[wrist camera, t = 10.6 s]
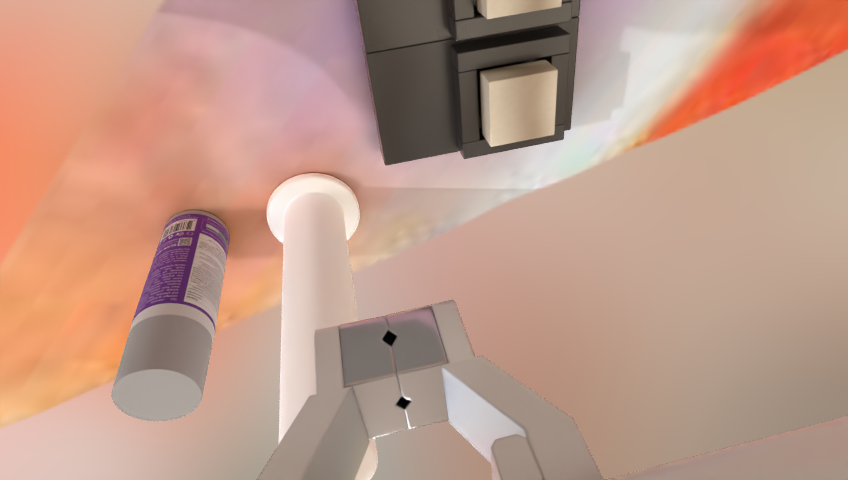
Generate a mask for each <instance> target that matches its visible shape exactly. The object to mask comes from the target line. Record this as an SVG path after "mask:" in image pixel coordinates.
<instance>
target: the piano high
mask: <svg viewBox="0 0 848 480" xmlns="http://www.w3.org/2000/svg"><path fill="white" fill-rule="evenodd" d="M355 6H356V12H357V17H358V23H359V29H360V34H361V40H362V44H363V47H364V50H365V52H366V53H371V52H377V51H383V50H388V49H394V48H400V47H406V46H411V45H417V44H423V43H429V42H434V41H440V40H446V39H452V38H454V39H455V40H456V41H462V40H467V39H473V38H479V37H485V36H490V35H496V34H502V33H508V32H513V31H519V30H525V29H530V28H536V27H542V26H548V25H553V24H559V23H565V22H570V21H571V19H572V18H573V17H578V16H579V10H580V0H562V4H561V7H556V8H550V9H544V10H538V11H533V12H527V13H521V14H515V15H509V16H503V17H498V18H492V19H487V18H486V17H484V16H483V15H482V14H481V13H480V12H479V11H478V10H477V0H355Z"/></svg>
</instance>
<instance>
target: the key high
mask: <svg viewBox="0 0 848 480" xmlns="http://www.w3.org/2000/svg"><path fill="white" fill-rule="evenodd" d="M561 4H562V0H477V10H478V11H479V12H480V13H481V14H482V15H483V16H484V17H486V18H487V19H492V18H498V17H503V16H509V15H515V14H521V13H527V12H533V11H538V10H544V9H550V8H556V7H561Z"/></svg>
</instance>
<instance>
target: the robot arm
mask: <svg viewBox="0 0 848 480" xmlns="http://www.w3.org/2000/svg"><path fill="white" fill-rule="evenodd" d="M314 350H315V374H316V394H315V395H311V396H309V397H308V399H307V400H306V402H305V403H304V405H303V407H302V408H301V410H300V411H299V413H298V415H297V416H296V418H295V419H294V421H293V423H292V424H291V426H290V427H289V429H288V431H287V432H286V434H285V435H284V437H283V439H282V440H281V442H280V443H279V445H278V446H277V448H276V450H275V451H274V453H273V454H272V456H271V458H270V459H269V461H268V462H267V464H266V466H265V467H264V469H263V471H262V472H261V474H260V475H259V477H258V478H257V480H355V478H356V475H357V473H358V470H359V468H360V465H361V463H362V460H363V458H364V455H365V453H366V450H367V448H368V445H369V443H370V441H369V440H370V439H374V438H377V437H381V436H385V435H388V434H392V433H395V432H399V431H403V430H407V429H411V428H416V427H420V426H425V425H430V424H434V423H439V422H443V421H448V420H449V423H450V424H451V425H452V426H453V427H454V428H455V429H456V430H458V431H459V432H460V433H461V435H463V436H464V437H465V438H466V439H467V440H468V441H469V442H470V443H471V444H472V445H473V446H474V447H475V448H476V449H477V450H478V451H479V452H480V453H481V454H482V455H483V456H484V457H485V458H486V459H487V460H488V461H489V462H490V463H491V464H492V480H604V479H603V477H602V475H601V473H600V471H599V469H598V467H597V465H596V463H595V461H594V459H593V457H592V455H591V453H590V451H589V449H588V447H587V445H586V443H585V441H584V439H583V437H582V435H581V433H580V431H579V429H578V427H577V425H576V423H575V421H574V419H573V418H572V417H571V416H569V415H568V414H566V413H565V412H563V411H562V410H561V409H559V408H558V407H556V406H555V405H553V404H552V403H550V402H549V401H548V400H546V399H545V398H543V397H542V396H540V395H539V394H537V393H536V392H534V391H533V390H532V389H530V388H529V387H527V386H526V385H524V384H523V383H521V382H520V381H519V380H517V379H516V378H514V377H513V376H511V375H510V374H508V373H507V372H506V371H504V370H503V369H501V368H500V367H498V366H497V365H495V364H494V363H493V362H491V361H490V360H488V359H487V358H485V357H484V356H477V357H475V354H474V352H473V349H472V346H471V343H470V341H469V338H468V335H467V332H466V329H465V327H464V324H463V321H462V319H461V316H460V313H459V310H458V308H457V305H456V303H455V301H454V300H449V301H445V302H440V303H436V304H432V305H431V306H430V305H427V306H423V307H419V308H414V309H410V310H406V311H402V312H398V313H393V314H389V315H385V316H381V317H376V318H371V319H366V320H361V321H356V322H351V323H346V324H341V325H338V326H333V327H328V328H323V329H318V330H315V334H314ZM408 426H409V427H408ZM606 480H848V416H844V417H840V418H837V419H833V420H829V421H825V422H821V423H818V424H814V425H810V426H807V427H803V428H799V429H795V430H791V431H788V432H784V433H780V434H777V435H772V436H768V437H765V438H761V439H757V440H753V441H750V442H746V443H742V444H738V445H734V446H731V447H727V448H723V449H719V450H715V451H712V452H708V453H704V454H700V455H696V456H693V457H689V458H685V459H682V460H678V461H674V462H670V463H666V464H662V465H659V466H655V467H651V468H647V469H644V470H640V471H636V472H632V473H628V474H625V475H621V476H617V477H613V478H609V479H606Z"/></svg>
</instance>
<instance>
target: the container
mask: <svg viewBox="0 0 848 480" xmlns="http://www.w3.org/2000/svg"><path fill="white" fill-rule="evenodd" d="M229 239H230V236H229V231H228V229H227V227H226V225H225V224H224V223H223V222H222V220H220V219H219V218H218V217H216V216H215V215H213V214H211V213H208V212H205V211H199V210H188V211H183V212H180V213H178V214H176V215H174V216H173V217H171V218H170V219H169V220H168V222H167V223H166V225H165V228H164V231H163V233H162V236H161V239H160V242H159V245H158V248H157V251H156V254H155V257H154V260H153V263H152V266H151V269H150V272H149V275H148V277H147V280H146V283H145V286H144V289H143V292H142V295H141V298H140V301H139V304H138V307H137V310H136V313H135V316H134V319H133V321H132V325H131V329H130V332H129V335H128V339H127V342H126V345H125V349H124V352H123V356H122V359H121V362H120V366H119V369H118V372H117V376H116V379H115V383H114V386H113V389H112V399H113V402H114V403H115V405H116V406H117V407H118V408H119V409H120V410H121V411H122V412H124V413H125V414H127V415H129V416H132V417H134V418H138V419H142V420H147V421H168V420H174V419H177V418H181V417H183V416H186V415H187V414H189V413H191V412H192V411H194V410H195V409H196V408H197V407H198V405H199V404H200V402H201V400H202V395H203V390H204V384H205V380H206V375H207V369H208V364H209V359H210V354H211V349H212V344H213V339H214V335H215V329H216V322H217V316H218V310H219V303H220V297H221V291H222V284H223V278H224V272H225V265H226V259H227V253H228V246H229Z"/></svg>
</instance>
